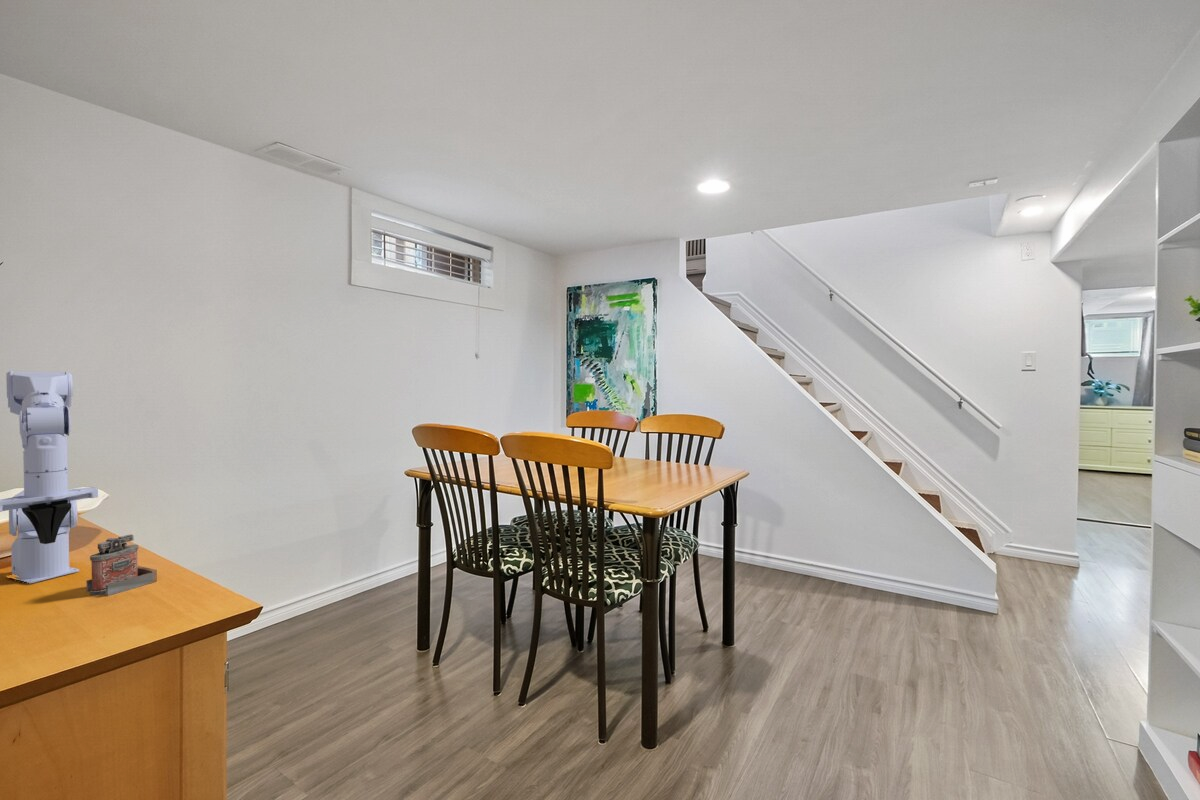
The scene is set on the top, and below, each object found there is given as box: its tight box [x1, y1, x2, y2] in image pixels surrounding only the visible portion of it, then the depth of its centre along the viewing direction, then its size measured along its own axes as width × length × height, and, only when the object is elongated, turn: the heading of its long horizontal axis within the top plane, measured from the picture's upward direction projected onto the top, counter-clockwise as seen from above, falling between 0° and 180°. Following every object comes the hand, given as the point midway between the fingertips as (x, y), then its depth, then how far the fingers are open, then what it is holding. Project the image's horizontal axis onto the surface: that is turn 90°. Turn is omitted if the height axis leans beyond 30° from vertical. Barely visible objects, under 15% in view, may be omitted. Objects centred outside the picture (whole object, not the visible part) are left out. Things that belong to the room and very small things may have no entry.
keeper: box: [85, 565, 158, 597], centre depth 105 cm, size 7×8×2 cm
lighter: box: [89, 534, 140, 597], centre depth 103 cm, size 8×3×10 cm, turn 170°
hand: (47, 542), depth 99 cm, fingers closed
